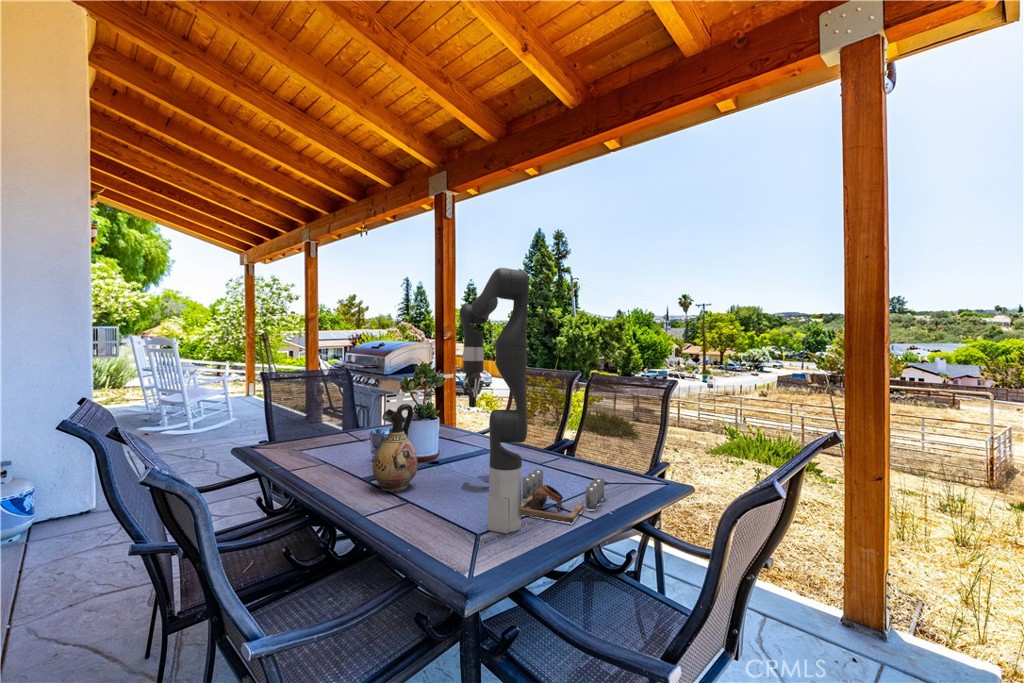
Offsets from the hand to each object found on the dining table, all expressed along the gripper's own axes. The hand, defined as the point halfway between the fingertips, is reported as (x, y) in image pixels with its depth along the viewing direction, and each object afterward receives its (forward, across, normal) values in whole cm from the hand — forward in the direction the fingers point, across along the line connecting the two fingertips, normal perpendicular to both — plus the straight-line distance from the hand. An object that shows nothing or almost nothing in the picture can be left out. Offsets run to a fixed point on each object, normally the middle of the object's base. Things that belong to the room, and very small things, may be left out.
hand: (472, 407), depth 161 cm
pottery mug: (+29, -8, -31) cm, 44 cm away
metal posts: (+29, +3, -34) cm, 45 cm away
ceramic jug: (+29, -13, +23) cm, 39 cm away
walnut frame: (+29, -10, -34) cm, 46 cm away
